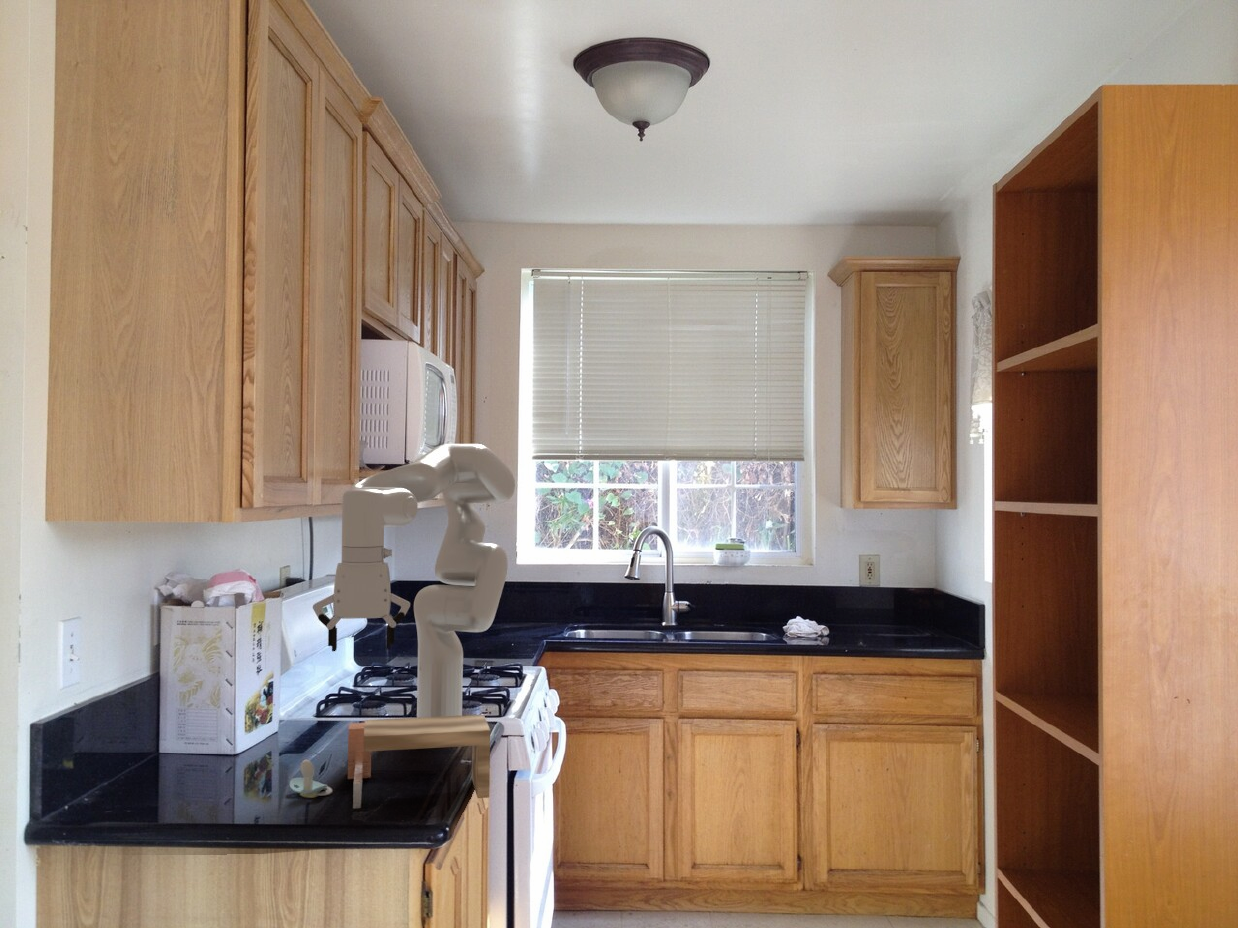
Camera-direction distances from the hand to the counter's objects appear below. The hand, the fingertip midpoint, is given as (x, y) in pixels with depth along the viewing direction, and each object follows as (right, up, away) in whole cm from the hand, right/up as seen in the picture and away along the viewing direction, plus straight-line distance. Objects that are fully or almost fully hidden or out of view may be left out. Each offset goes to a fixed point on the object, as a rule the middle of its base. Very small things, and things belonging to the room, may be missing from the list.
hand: (361, 649), depth 175 cm
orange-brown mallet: (+2, -23, -8) cm, 24 cm away
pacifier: (-5, -23, -11) cm, 26 cm away
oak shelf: (+14, -23, -9) cm, 28 cm away
